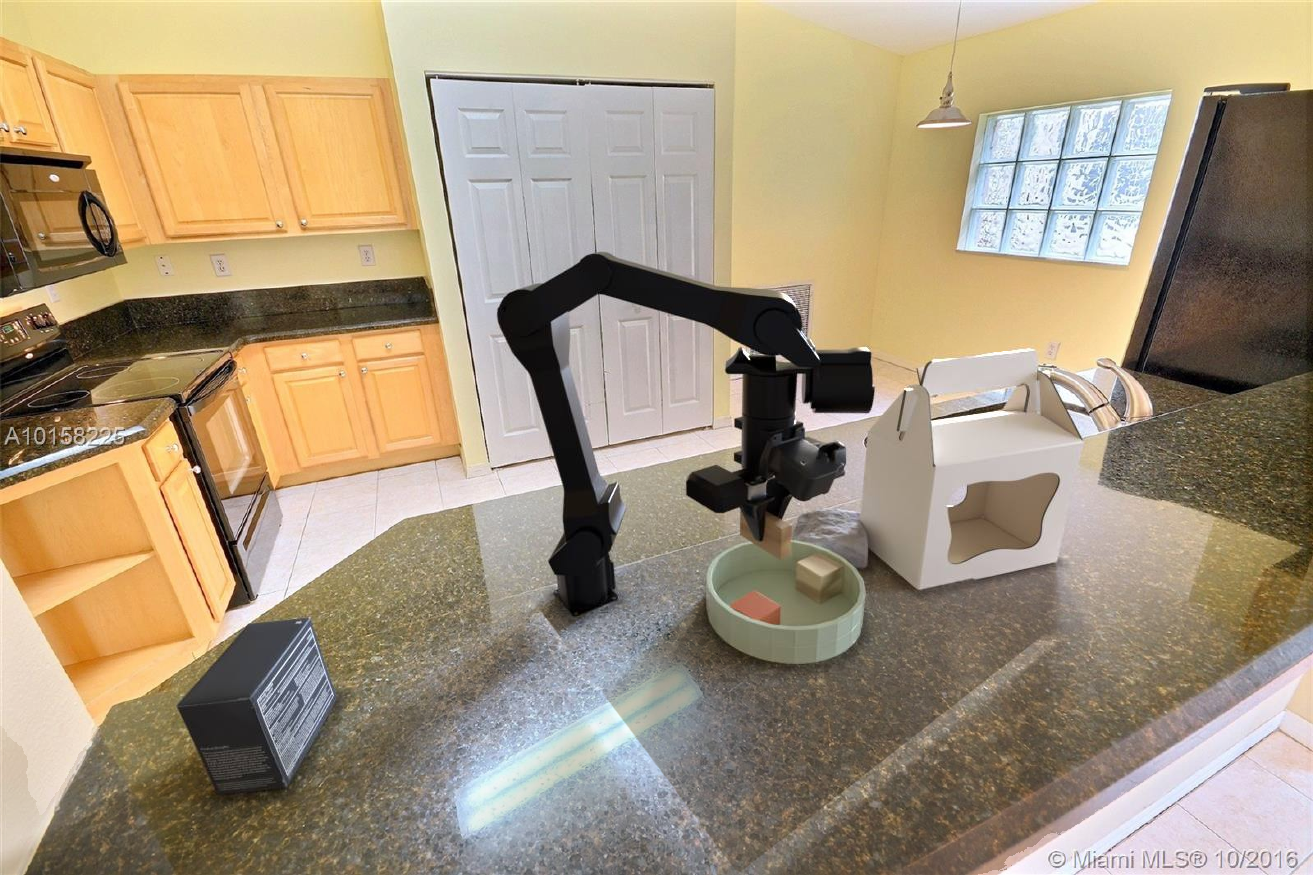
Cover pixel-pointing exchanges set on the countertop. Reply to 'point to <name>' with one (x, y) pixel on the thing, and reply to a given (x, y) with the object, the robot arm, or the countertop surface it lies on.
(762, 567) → the bowl
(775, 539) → the oak wood brick
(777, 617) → the terracotta block
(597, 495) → the robot arm
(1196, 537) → the countertop surface
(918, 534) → the gable box
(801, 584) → the cream block
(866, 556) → the stone block
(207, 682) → the small box
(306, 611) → the countertop surface
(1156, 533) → the countertop surface
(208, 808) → the countertop surface
